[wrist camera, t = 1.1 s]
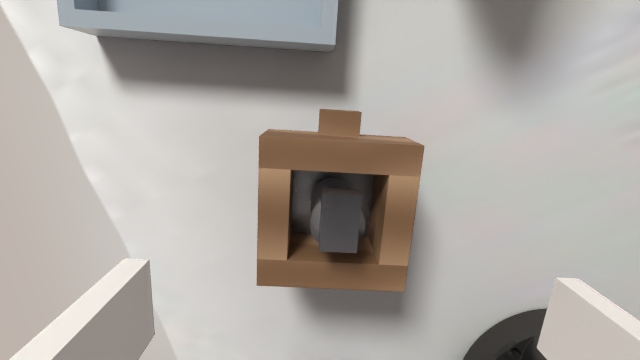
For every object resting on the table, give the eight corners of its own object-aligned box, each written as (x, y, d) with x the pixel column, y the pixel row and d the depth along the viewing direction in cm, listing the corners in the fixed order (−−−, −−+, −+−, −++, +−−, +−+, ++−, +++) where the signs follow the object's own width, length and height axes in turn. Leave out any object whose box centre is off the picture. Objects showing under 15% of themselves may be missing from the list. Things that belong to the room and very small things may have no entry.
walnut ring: (389, 260, 24) (404, 291, 20) (265, 254, 24) (256, 285, 20) (407, 114, 22) (428, 118, 18) (269, 105, 21) (259, 107, 17)
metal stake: (368, 226, 28) (398, 295, 18) (284, 222, 28) (269, 290, 18) (376, 143, 26) (414, 170, 16) (287, 138, 26) (273, 162, 16)
